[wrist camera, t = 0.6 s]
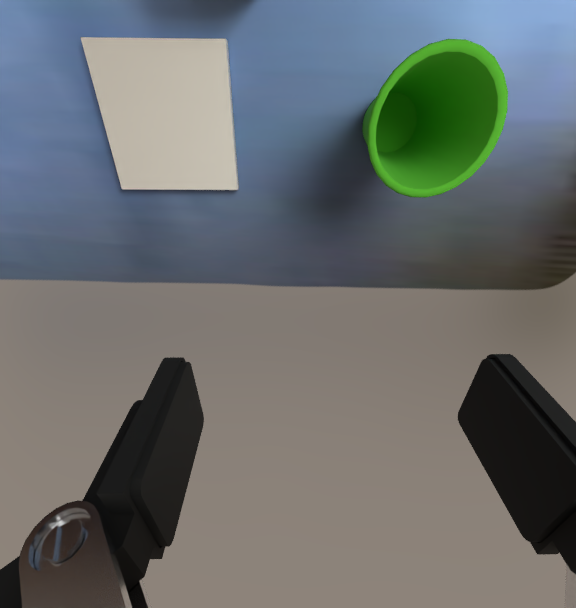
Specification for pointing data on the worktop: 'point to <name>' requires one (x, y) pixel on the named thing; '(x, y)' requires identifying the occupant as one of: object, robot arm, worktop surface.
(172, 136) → the panel
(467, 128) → the cup
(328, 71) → the worktop surface
